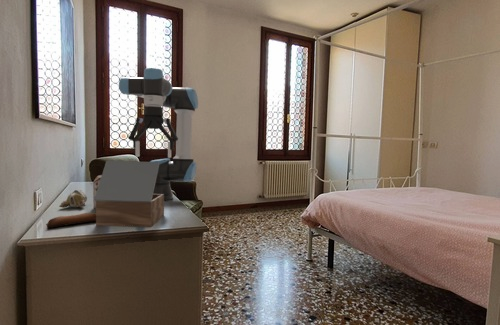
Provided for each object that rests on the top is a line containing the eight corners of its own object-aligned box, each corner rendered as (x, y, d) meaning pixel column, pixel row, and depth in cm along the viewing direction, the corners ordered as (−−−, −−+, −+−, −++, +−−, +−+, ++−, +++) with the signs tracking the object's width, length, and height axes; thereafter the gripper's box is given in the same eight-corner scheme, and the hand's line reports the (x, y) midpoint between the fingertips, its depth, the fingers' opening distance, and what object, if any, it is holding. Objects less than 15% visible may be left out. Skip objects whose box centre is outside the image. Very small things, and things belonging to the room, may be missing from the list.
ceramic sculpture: (91, 187, 158) (81, 194, 144) (92, 203, 160) (82, 211, 145) (69, 187, 156) (57, 194, 142) (70, 203, 157) (58, 212, 143)
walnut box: (116, 214, 139) (116, 192, 138) (164, 215, 139) (164, 194, 138) (96, 225, 121) (95, 200, 120) (150, 227, 121) (150, 202, 120)
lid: (107, 162, 129) (106, 160, 128) (159, 163, 129) (158, 162, 128) (95, 200, 120) (94, 199, 119) (151, 202, 120) (150, 201, 119)
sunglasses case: (93, 217, 132) (95, 206, 129) (97, 228, 128) (99, 217, 125) (44, 224, 120) (45, 211, 117) (46, 237, 116) (47, 224, 113)
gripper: (119, 104, 122) (120, 156, 124) (181, 106, 122) (180, 158, 124) (127, 106, 129) (127, 155, 131) (185, 108, 130) (184, 157, 132)
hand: (153, 157), depth 128 cm, fingers open, 13 cm apart
